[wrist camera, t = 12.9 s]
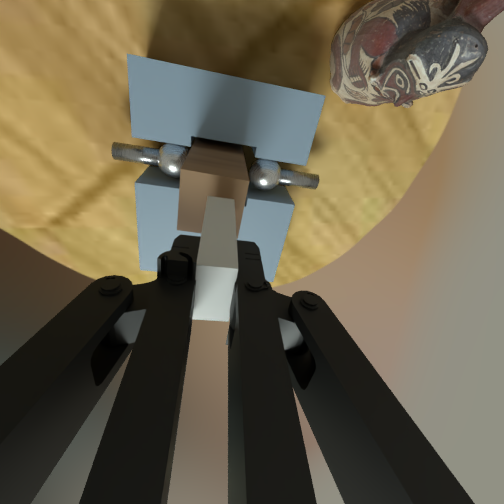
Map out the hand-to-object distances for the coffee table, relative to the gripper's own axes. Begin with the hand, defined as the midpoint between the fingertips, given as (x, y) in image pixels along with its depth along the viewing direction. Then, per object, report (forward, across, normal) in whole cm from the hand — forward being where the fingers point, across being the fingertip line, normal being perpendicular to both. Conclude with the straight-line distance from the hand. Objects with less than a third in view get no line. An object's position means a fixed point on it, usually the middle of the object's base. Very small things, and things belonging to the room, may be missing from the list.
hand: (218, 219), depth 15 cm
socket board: (+13, 0, -2) cm, 14 cm away
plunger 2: (+12, +6, 0) cm, 13 cm away
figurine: (+14, +11, +10) cm, 21 cm away
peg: (+13, 0, 0) cm, 13 cm away
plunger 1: (+12, -6, 0) cm, 13 cm away
